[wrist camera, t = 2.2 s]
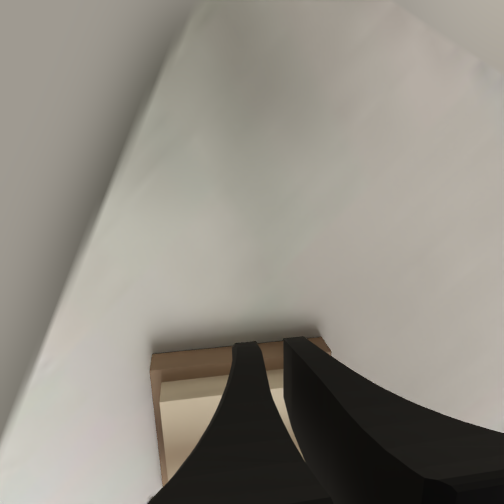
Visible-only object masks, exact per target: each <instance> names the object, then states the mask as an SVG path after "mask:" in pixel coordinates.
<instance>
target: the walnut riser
mask: <svg viewBox="0 0 504 504" xmlns="http://www.w3.org/2000/svg"><path fill="white" fill-rule="evenodd" d="M307 339H308V340H309V341H311V342H312V343H314V344H315V345H316V346H318V347H319V348H321V349H322V350H323V351H325V352H326V353H328V354H329V355H330V356H331V350H330V349H329V347H328V346H327V344H326V343H325V341H324V340H323V338H322V337H317V338H307ZM258 345H259V347H260V349H261V351H262V354H263V359H264V363H265V368H266V371H268V370H277V369H283V341H277V342H268V343H258ZM231 364H232V346H228V347H218V348H208V349H198V350H188V351H178V352H168V353H159V354H152V359H151V365H150V379H151V388H152V397H153V405H154V414H155V423H156V431H157V440H158V449H159V458H160V466H161V475H162V484H163V487H164V486H165V484H166V483H167V482H168V476H167V467H166V458H165V448H164V439H163V430H162V421H161V412H160V403H159V402H160V393H161V383H162V382H169V381H178V380H187V379H196V378H205V377H214V376H223V375H229V373H230V369H231Z"/></svg>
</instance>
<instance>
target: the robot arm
mask: <svg viewBox="0 0 504 504" xmlns="http://www.w3.org/2000/svg"><path fill="white" fill-rule="evenodd" d="M283 398H284V401H285V405H286V409H287V413H288V417H289V421H290V424H291V428H292V430H293V433H294V435H295V438H296V440H297V443H298V445H299V448H300V450H301V453H302V455H303V457H302V456H301V454H300V452H299V451H298V449H297V447H296V445H295V444H294V442H293V440H292V438H291V436H290V434H289V432H288V430H287V428H286V426H285V424H284V422H283V420H282V418H281V416H280V414H279V412H278V409H277V407H276V405H275V402H274V400H273V397H272V394H271V391H270V387H269V382H268V377H267V373H266V368H265V363H264V359H263V354H262V351H261V349H260V347H259V345H258V344H257V342H256V341H254V342H244V343H235V344H234V345H233V346H232V364H231V369H230V373H229V377H228V380H227V384H226V387H225V389H224V392H223V394H222V397H221V400H220V402H219V405H218V407H217V409H216V411H215V413H214V415H213V417H212V419H211V421H210V423H209V425H208V427H207V428H206V430H205V432H204V433H203V435H202V437H201V438H200V440H199V442H198V443H197V445H196V446H195V448H194V449H193V451H192V452H191V453H190V455H189V456H188V457H187V459H186V460H185V461H184V462H183V464H182V465H181V466H180V468H179V469H178V470H177V472H176V473H175V474H174V475H173V477H172V478H171V479H170V480H169V481H168V482H167V483H166V484H165V486H164V487H163V488H162V489H161V490H160V491H159V492H158V493H157V494H156V495H155V496H154V497H153V498H152V499H151V500H150V501H149V502H148V503H147V504H504V433H501V432H497V431H493V430H490V429H486V428H483V427H480V426H476V425H473V424H470V423H466V422H463V421H460V420H457V419H454V418H451V417H448V416H446V415H443V414H440V413H438V412H435V411H433V410H430V409H428V408H425V407H422V406H420V405H418V404H415V403H413V402H411V401H408V400H406V399H404V398H402V397H400V396H398V395H396V394H394V393H392V392H390V391H388V390H386V389H384V388H382V387H380V386H378V385H376V384H374V383H373V382H371V381H369V380H368V379H366V378H364V377H363V376H361V375H359V374H358V373H356V372H354V371H353V370H351V369H350V368H348V367H347V366H345V365H344V364H342V363H341V362H339V361H338V360H336V359H335V358H333V357H332V356H330V355H329V354H328V353H326V352H325V351H323V350H322V349H321V348H319V347H318V346H316V345H315V344H314V343H312V342H311V341H309V340H308V339H306V338H305V337H294V338H284V339H283ZM303 458H304V459H303ZM304 460H305V461H304Z"/></svg>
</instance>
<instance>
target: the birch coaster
mask: <svg viewBox="0 0 504 504" xmlns="http://www.w3.org/2000/svg"><path fill="white" fill-rule="evenodd" d="M266 373H267V377H268V382H269V387H270V391H271V394H272V397H273V400H274V402H275V405H276V407H277V409H278V412H279V414H280V416H281V418H282V420H283V422H284V424H285V426H286V428H287V430H288V432H289V434H290V436H291V438H292V440H293V442H294V444H295V445H296V447H297V449H298V451H299V452H300V454H301V456H302V457H303V455H302V453H301V450H300V448H299V445H298V443H297V440H296V438H295V435H294V433H293V430H292V428H291V424H290V421H289V417H288V413H287V409H286V405H285V401H284V398H283V369H277V370H268V371H266ZM228 377H229V375H223V376H214V377H205V378H196V379H187V380H178V381H169V382H162V383H161V393H160V402H159V403H160V412H161V421H162V430H163V439H164V448H165V458H166V467H167V476H168V481H169V480H170V479H171V478H172V477H173V475H174V474H175V473H176V472H177V470H178V469H179V468H180V466H181V465H182V464H183V462H184V461H185V460H186V459H187V457H188V456H189V455H190V453H191V452H192V451H193V449H194V448H195V446H196V445H197V443H198V442H199V440H200V438H201V437H202V435H203V433H204V432H205V430H206V428H207V427H208V425H209V423H210V421H211V419H212V417H213V415H214V413H215V411H216V409H217V407H218V405H219V402H220V400H221V397H222V394H223V392H224V389H225V387H226V384H227V380H228ZM303 459H304V458H303ZM304 461H305V460H304Z"/></svg>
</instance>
